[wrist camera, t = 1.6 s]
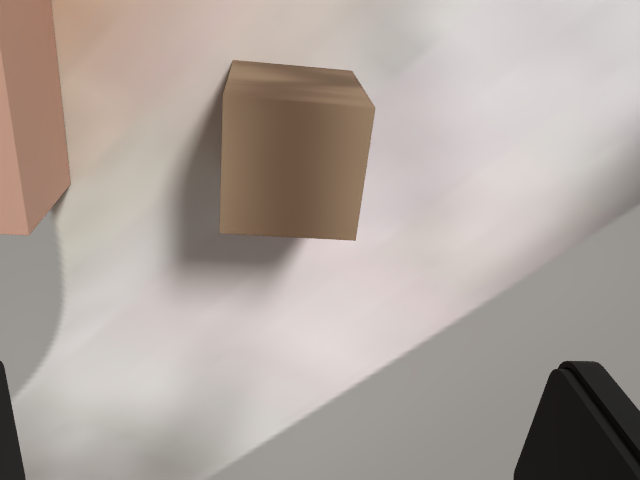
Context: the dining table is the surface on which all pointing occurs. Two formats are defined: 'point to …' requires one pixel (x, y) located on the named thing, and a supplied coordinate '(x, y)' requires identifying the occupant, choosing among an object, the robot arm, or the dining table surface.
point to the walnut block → (293, 151)
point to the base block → (29, 117)
